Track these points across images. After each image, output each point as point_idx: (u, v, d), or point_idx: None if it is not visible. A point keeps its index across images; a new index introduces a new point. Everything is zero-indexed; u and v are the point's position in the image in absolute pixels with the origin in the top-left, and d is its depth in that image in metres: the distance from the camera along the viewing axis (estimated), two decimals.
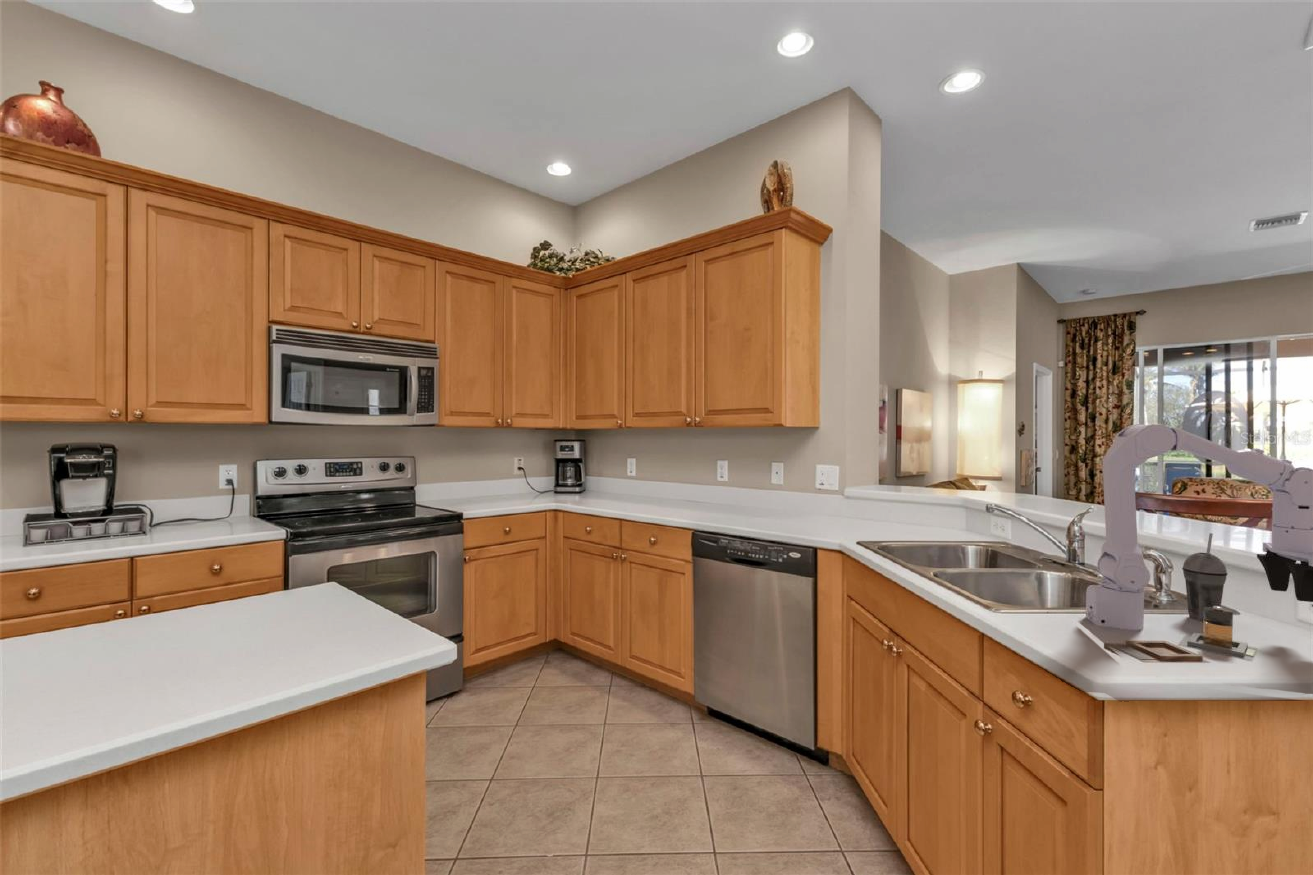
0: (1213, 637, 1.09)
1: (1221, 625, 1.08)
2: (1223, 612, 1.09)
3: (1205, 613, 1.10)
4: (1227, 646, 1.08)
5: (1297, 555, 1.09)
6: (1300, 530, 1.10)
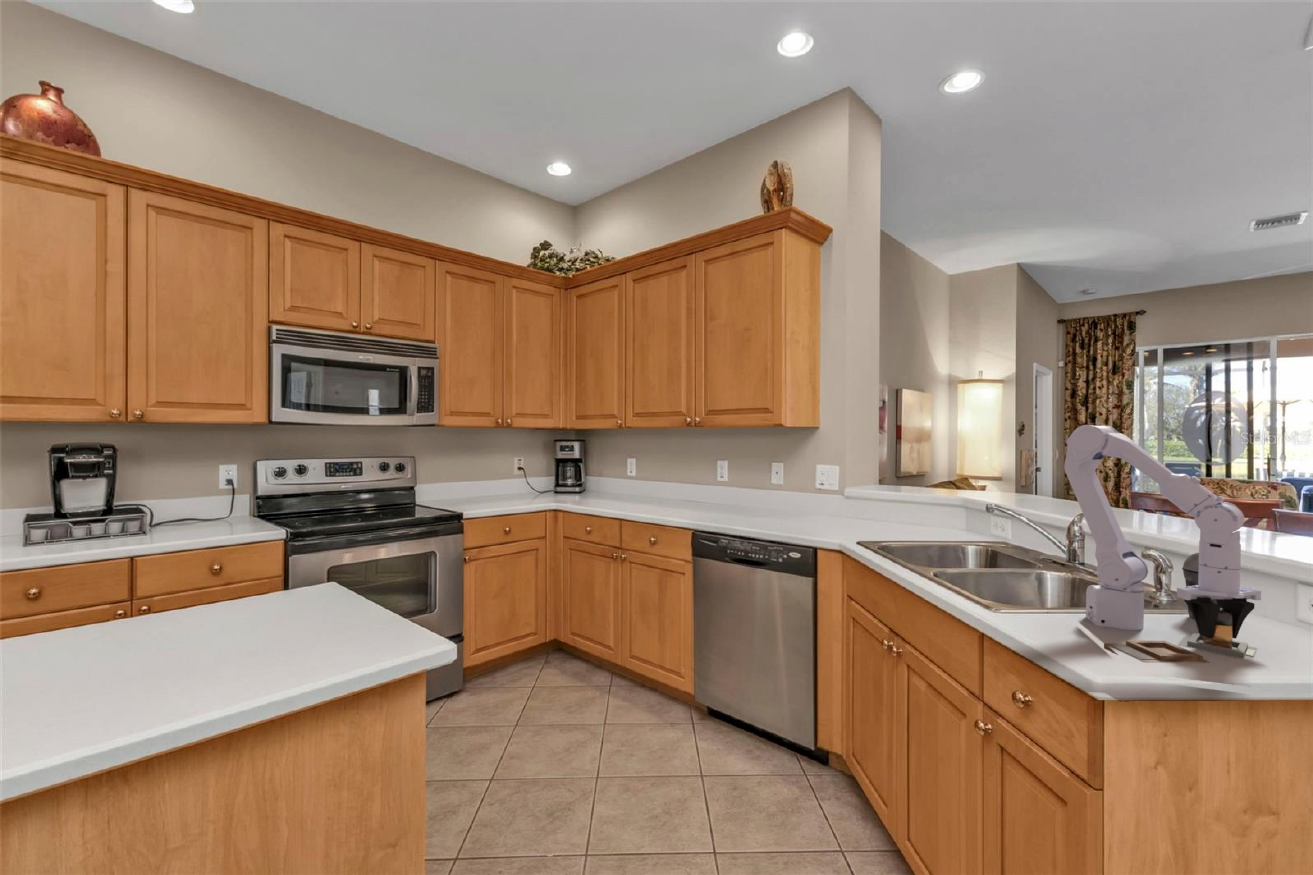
0: (1213, 637, 1.09)
1: (1221, 625, 1.08)
2: (1223, 612, 1.09)
3: None
4: (1227, 646, 1.08)
5: None
6: (1202, 566, 1.10)
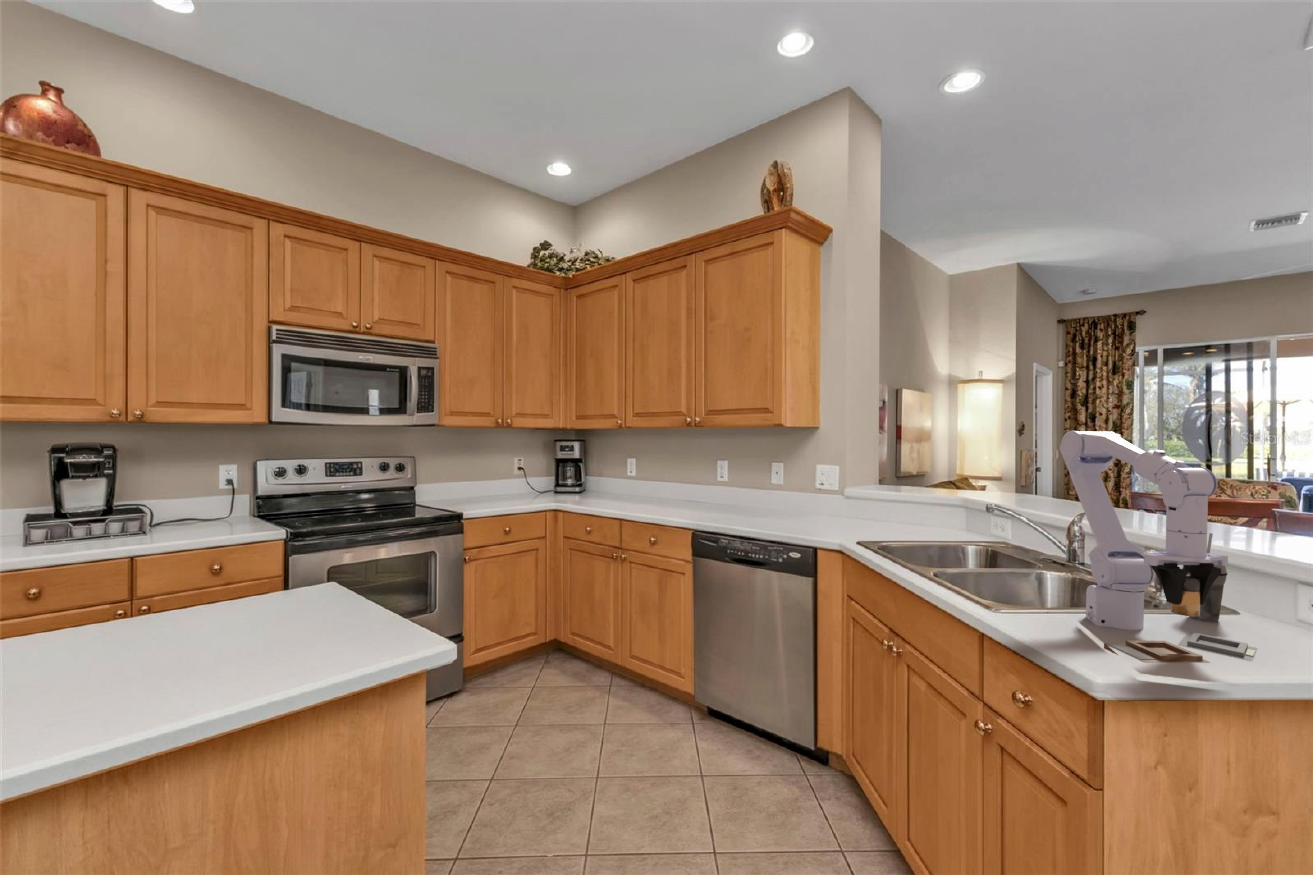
0: (1180, 604, 1.07)
1: (1189, 591, 1.06)
2: (1191, 578, 1.06)
3: None
4: (1195, 612, 1.06)
5: None
6: (1169, 532, 1.08)
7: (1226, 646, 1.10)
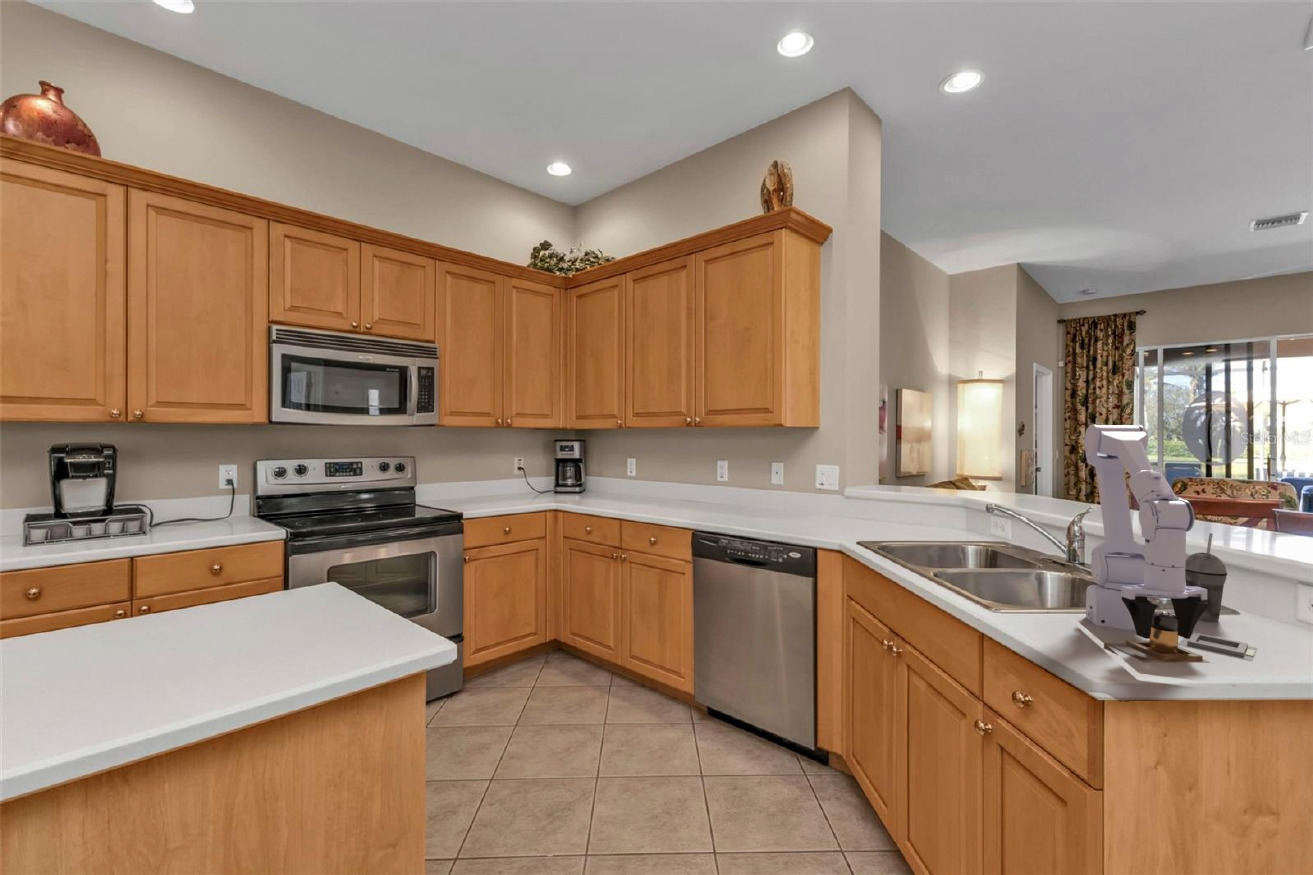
0: (1158, 643, 1.06)
1: (1166, 631, 1.05)
2: (1168, 617, 1.05)
3: None
4: (1172, 652, 1.05)
5: None
6: (1147, 565, 1.07)
7: (1226, 646, 1.10)
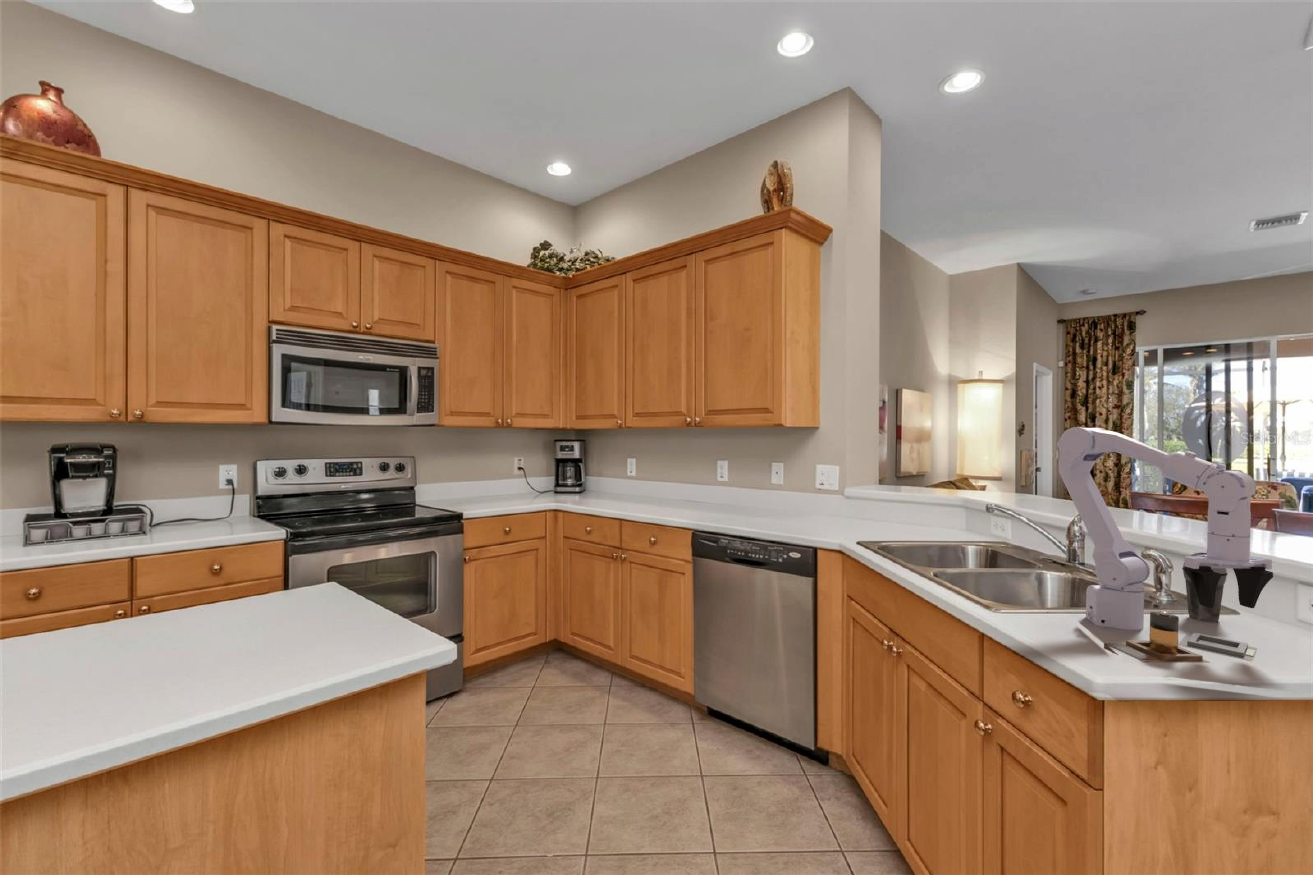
0: (1158, 643, 1.06)
1: (1166, 631, 1.05)
2: (1169, 617, 1.05)
3: (1151, 618, 1.07)
4: (1172, 652, 1.05)
5: None
6: (1211, 535, 1.08)
7: (1226, 646, 1.10)
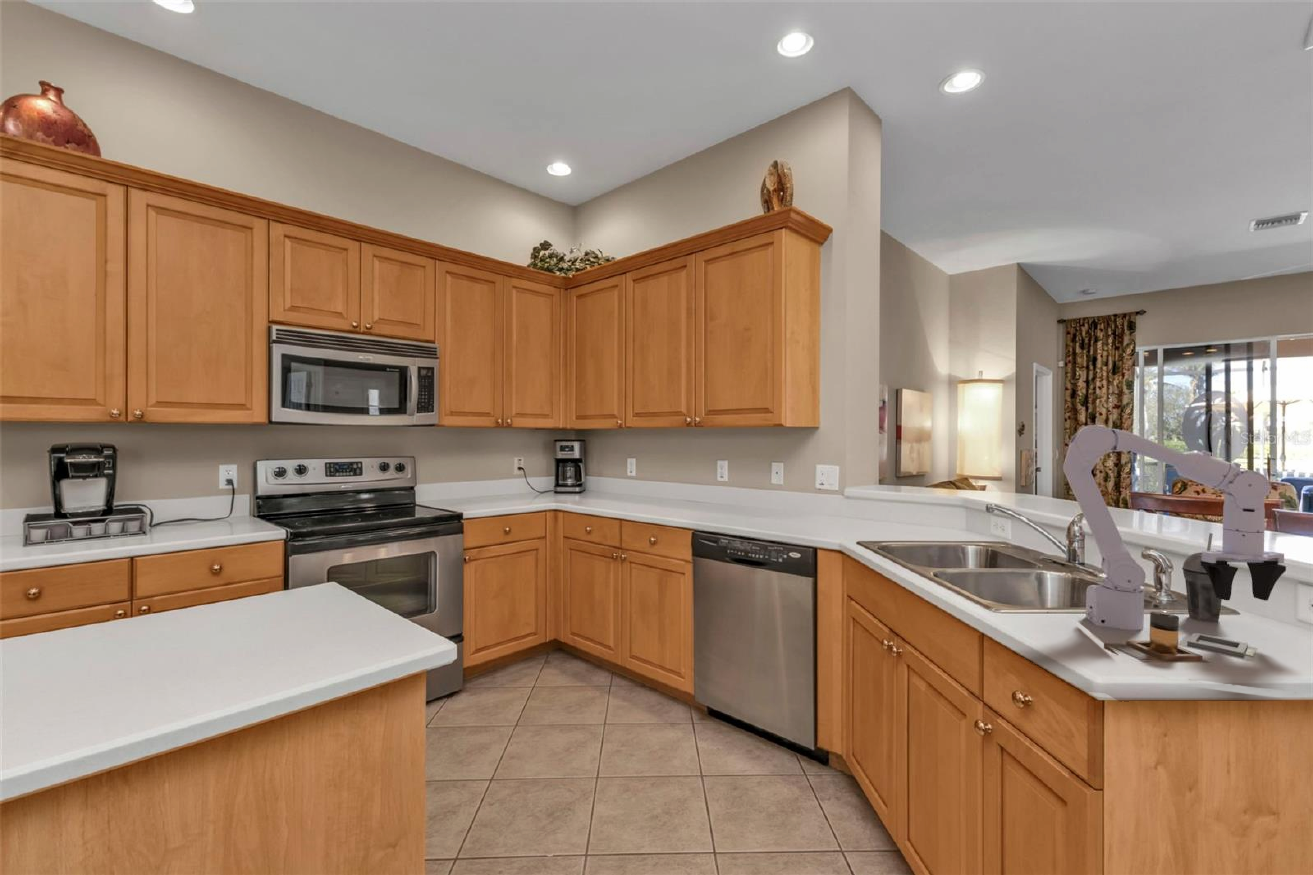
0: (1158, 643, 1.06)
1: (1167, 630, 1.05)
2: (1169, 617, 1.05)
3: (1151, 618, 1.07)
4: (1172, 652, 1.05)
5: None
6: (1227, 531, 1.13)
7: (1226, 646, 1.10)
